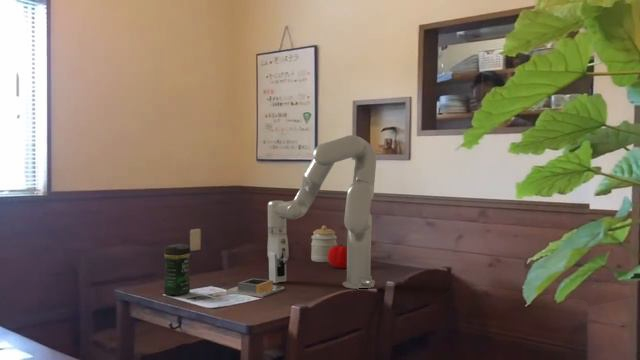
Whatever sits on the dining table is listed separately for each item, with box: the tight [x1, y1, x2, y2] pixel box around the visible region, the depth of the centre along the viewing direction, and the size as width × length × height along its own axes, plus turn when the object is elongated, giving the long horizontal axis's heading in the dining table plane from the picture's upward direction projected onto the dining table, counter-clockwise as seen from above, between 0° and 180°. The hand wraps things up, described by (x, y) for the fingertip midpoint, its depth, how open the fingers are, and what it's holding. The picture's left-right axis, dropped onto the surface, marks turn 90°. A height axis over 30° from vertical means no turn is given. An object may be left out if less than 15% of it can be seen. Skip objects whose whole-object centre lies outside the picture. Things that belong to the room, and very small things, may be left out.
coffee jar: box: [163, 243, 191, 296], centre depth 228 cm, size 10×8×19 cm
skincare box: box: [268, 253, 287, 284], centre depth 251 cm, size 6×4×12 cm
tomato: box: [328, 244, 347, 269], centre depth 286 cm, size 12×12×11 cm
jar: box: [310, 225, 338, 263], centre depth 306 cm, size 13×13×18 cm
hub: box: [225, 277, 285, 298], centre depth 234 cm, size 16×16×4 cm
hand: (277, 274), depth 251 cm, fingers closed on skincare box, 4 cm apart
